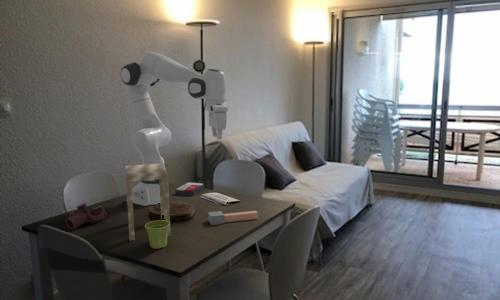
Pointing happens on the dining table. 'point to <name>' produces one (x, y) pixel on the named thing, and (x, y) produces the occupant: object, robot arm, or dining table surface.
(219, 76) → the robot arm
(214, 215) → the mallet
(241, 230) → the dining table surface
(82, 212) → the bracket
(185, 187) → the calculator
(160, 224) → the plant pot
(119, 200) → the dining table surface
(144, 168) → the frame
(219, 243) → the dining table surface
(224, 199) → the newspaper
